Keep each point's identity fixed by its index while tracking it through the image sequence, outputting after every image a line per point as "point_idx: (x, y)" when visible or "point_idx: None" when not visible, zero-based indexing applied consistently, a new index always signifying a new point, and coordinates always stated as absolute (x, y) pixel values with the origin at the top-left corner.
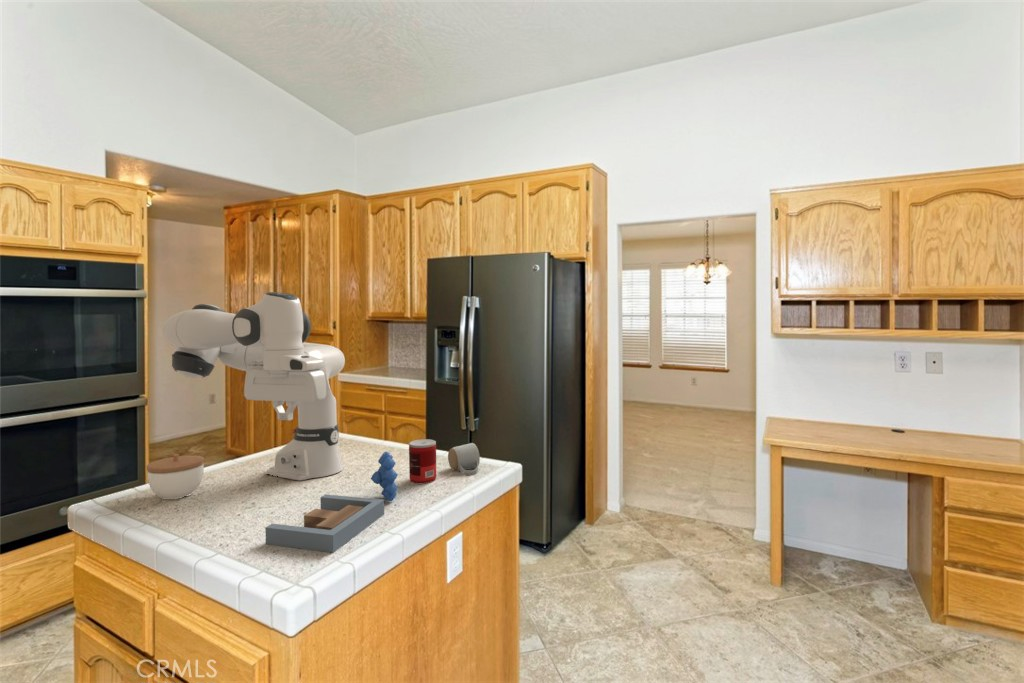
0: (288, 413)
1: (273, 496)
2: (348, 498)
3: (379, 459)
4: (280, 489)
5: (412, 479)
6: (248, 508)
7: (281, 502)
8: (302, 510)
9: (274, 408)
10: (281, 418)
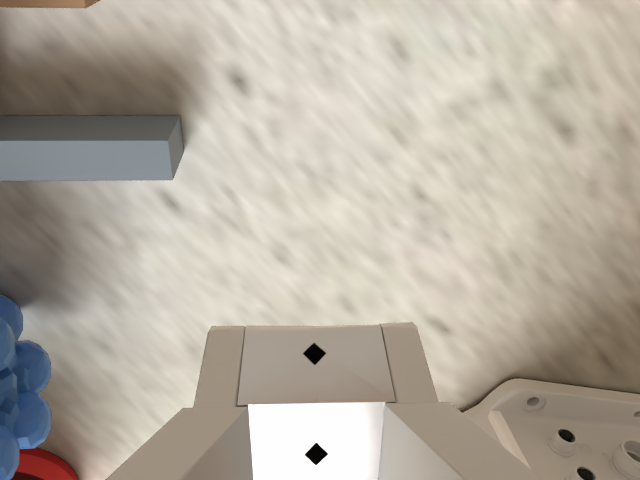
0: (194, 413)
1: (519, 218)
2: (12, 156)
3: (2, 449)
4: (537, 289)
5: (34, 457)
6: (550, 69)
7: (437, 167)
8: (274, 107)
9: (523, 464)
10: (338, 332)
